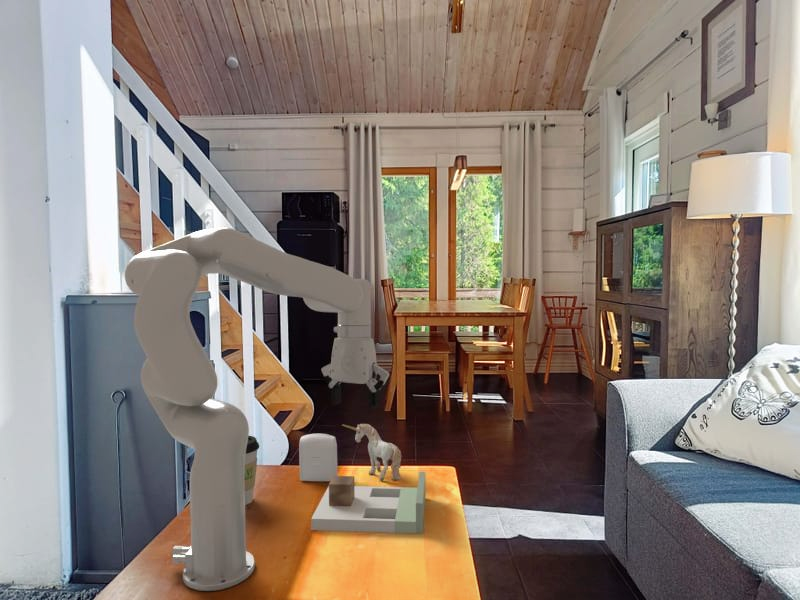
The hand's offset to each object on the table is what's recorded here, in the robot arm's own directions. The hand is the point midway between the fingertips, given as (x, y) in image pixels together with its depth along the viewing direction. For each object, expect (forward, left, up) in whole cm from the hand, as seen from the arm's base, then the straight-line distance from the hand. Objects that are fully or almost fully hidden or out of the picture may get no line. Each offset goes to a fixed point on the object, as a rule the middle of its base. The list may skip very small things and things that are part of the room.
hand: (354, 406), depth 122 cm
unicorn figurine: (+1, +20, -25) cm, 32 cm away
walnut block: (-3, -1, -22) cm, 22 cm away
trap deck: (+4, -1, -24) cm, 25 cm away
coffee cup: (-29, +3, -25) cm, 38 cm away
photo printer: (-13, +18, -25) cm, 33 cm away
